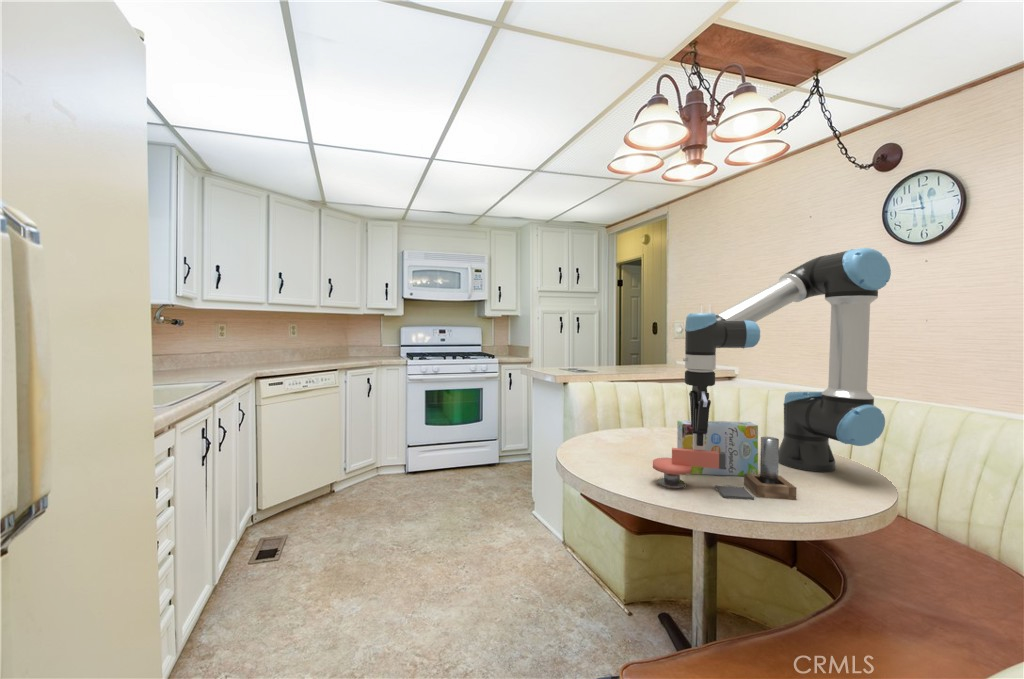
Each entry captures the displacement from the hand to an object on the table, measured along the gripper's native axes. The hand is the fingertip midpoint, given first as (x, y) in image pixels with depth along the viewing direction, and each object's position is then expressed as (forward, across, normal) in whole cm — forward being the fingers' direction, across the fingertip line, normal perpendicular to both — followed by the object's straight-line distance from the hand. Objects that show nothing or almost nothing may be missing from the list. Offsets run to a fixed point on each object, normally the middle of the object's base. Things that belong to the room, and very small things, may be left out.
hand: (698, 456), depth 115 cm
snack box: (+8, -12, +8) cm, 16 cm away
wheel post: (+8, +1, -7) cm, 11 cm away
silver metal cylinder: (+8, +2, +17) cm, 19 cm away
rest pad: (+8, +5, +8) cm, 12 cm away
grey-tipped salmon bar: (+3, +1, -3) cm, 5 cm away
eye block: (+8, +2, +17) cm, 19 cm away
